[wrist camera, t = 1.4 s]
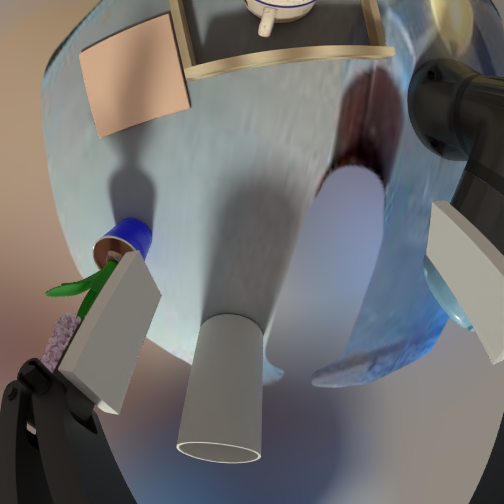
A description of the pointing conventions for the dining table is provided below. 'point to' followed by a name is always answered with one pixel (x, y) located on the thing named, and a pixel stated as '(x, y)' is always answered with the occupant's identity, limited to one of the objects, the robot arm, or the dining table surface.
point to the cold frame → (280, 56)
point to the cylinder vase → (224, 392)
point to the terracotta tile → (134, 76)
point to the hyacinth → (95, 280)
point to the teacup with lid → (277, 12)
